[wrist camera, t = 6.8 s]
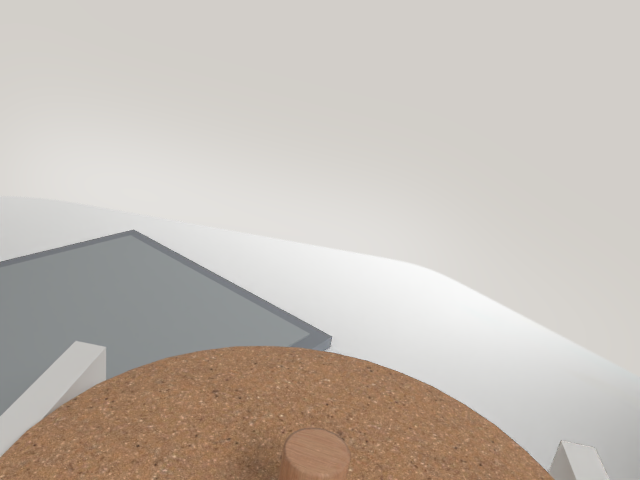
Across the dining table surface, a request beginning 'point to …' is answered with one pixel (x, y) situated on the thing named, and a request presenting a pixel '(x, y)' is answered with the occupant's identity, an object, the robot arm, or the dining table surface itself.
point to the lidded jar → (265, 425)
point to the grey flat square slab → (127, 309)
